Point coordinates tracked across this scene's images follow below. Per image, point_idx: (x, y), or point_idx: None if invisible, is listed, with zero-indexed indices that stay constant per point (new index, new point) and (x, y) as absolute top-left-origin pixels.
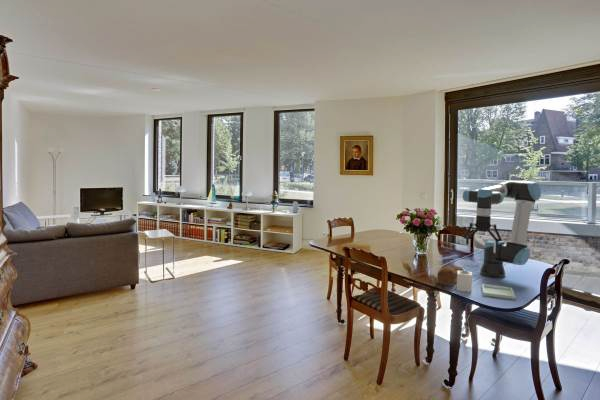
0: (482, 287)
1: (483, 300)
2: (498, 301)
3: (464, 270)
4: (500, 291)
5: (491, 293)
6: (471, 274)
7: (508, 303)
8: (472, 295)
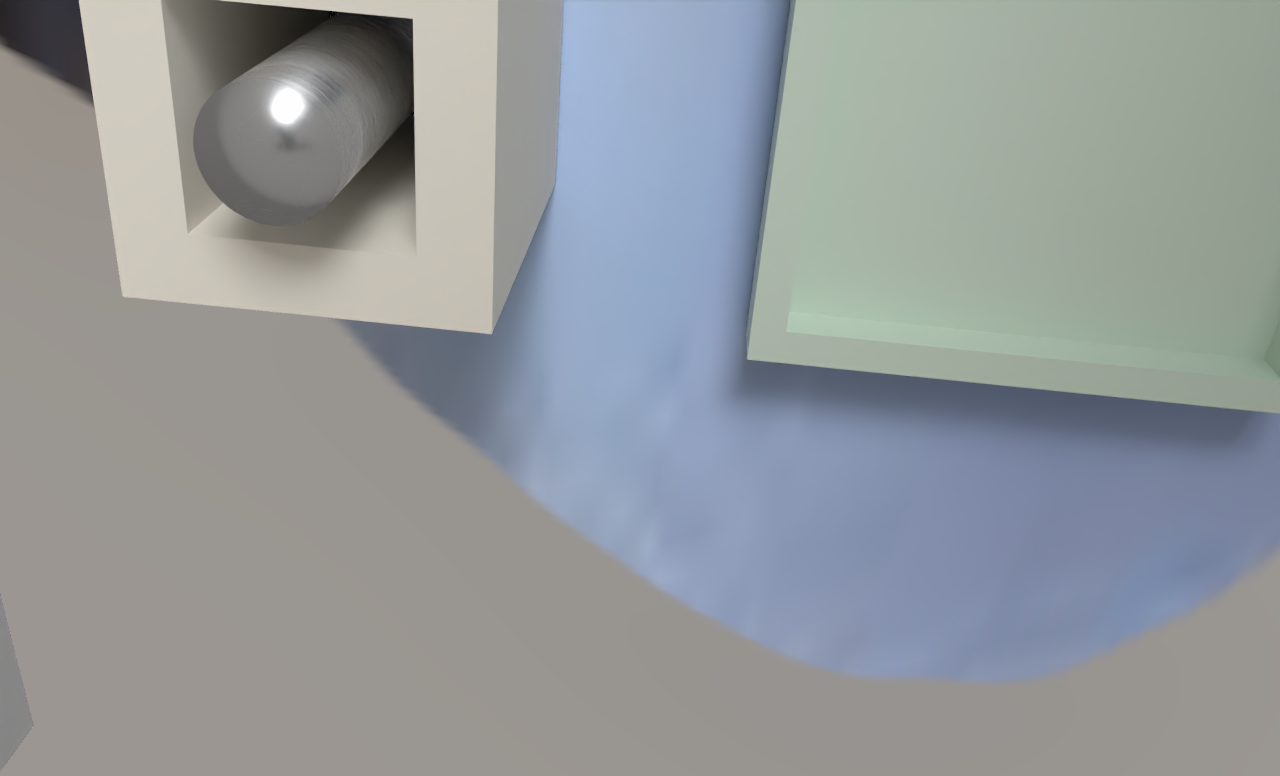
0: (793, 31)
1: (714, 538)
2: (947, 522)
3: (259, 162)
4: (1173, 16)
5: (893, 373)
6: (478, 239)
7: (1082, 565)
8: (563, 358)
